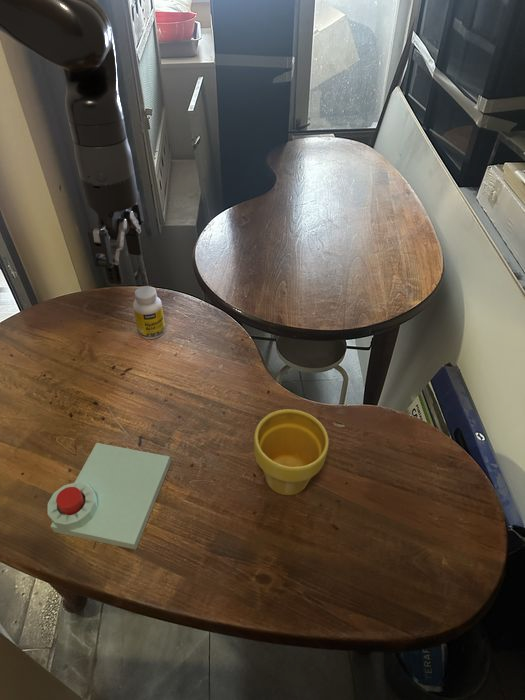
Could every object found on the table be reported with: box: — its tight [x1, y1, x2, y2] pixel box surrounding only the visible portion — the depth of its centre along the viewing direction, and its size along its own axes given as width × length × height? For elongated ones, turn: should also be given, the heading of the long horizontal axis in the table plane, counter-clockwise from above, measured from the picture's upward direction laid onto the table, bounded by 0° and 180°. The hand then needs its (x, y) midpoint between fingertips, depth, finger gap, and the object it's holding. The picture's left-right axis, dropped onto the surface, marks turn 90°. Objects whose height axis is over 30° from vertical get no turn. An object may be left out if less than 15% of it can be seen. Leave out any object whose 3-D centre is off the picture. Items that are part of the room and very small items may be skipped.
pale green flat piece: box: [47, 442, 172, 551], centre depth 69 cm, size 13×14×4 cm
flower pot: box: [253, 408, 330, 496], centre depth 70 cm, size 10×10×10 cm
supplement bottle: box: [132, 285, 166, 340], centre depth 93 cm, size 5×5×10 cm
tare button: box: [56, 487, 84, 515], centre depth 65 cm, size 3×3×2 cm
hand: (126, 267), depth 79 cm, fingers open, 8 cm apart
